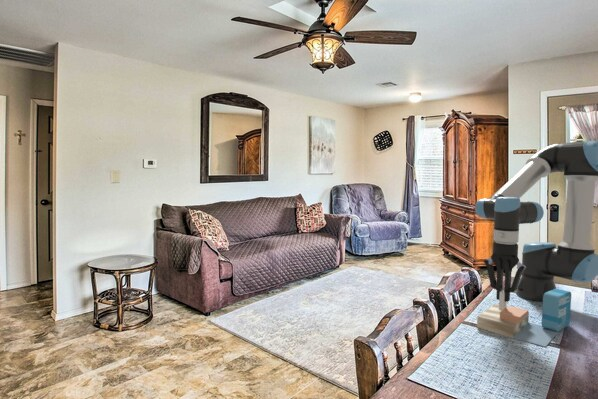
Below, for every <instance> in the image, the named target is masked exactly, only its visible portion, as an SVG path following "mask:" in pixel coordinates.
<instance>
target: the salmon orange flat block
mask: <svg viewBox="0 0 598 399" xmlns="http://www.w3.org/2000/svg"><path fill="white" fill-rule="evenodd" d="M528 312H529V309H525V308H520V307H517V306H513V305H508V306H506V308H505V309H504V310H502V311H501V312H500V318H502V319H506V320H510V321H513V322H517V323H520V322H522V321H523V320H524V319H525V318H526V317H528Z"/></svg>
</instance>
